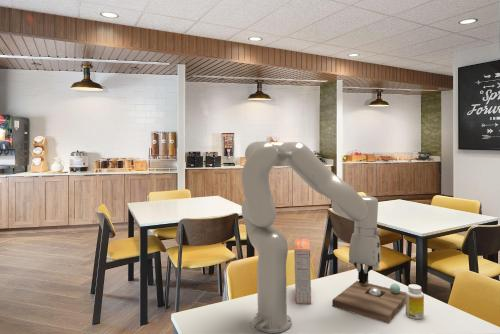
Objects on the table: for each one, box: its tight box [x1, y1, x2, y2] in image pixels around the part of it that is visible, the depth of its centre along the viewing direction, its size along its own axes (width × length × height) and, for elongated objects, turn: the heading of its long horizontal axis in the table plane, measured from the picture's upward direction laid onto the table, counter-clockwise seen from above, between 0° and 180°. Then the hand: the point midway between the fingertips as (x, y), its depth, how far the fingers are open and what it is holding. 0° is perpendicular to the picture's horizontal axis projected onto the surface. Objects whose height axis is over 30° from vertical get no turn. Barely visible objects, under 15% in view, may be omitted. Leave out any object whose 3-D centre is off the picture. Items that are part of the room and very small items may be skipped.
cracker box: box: [293, 238, 312, 305], centre depth 137 cm, size 14×6×21 cm, turn 172°
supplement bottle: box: [405, 283, 425, 320], centre depth 120 cm, size 6×6×10 cm
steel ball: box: [369, 287, 381, 297], centre depth 133 cm, size 4×4×4 cm
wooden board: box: [331, 280, 406, 324], centre depth 131 cm, size 22×20×2 cm
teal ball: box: [389, 283, 401, 293], centre depth 133 cm, size 4×4×4 cm
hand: (362, 282), depth 126 cm, fingers closed
